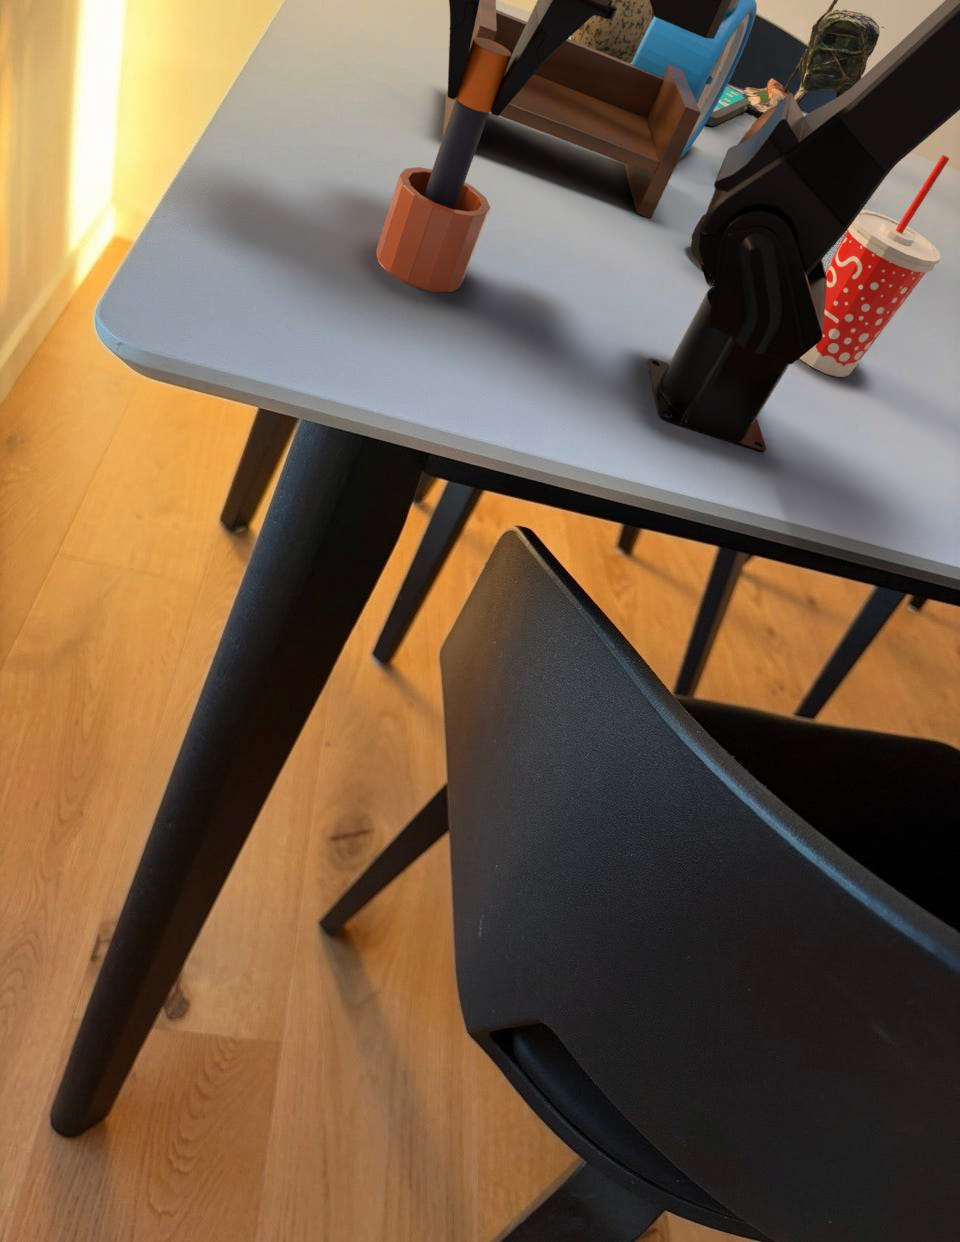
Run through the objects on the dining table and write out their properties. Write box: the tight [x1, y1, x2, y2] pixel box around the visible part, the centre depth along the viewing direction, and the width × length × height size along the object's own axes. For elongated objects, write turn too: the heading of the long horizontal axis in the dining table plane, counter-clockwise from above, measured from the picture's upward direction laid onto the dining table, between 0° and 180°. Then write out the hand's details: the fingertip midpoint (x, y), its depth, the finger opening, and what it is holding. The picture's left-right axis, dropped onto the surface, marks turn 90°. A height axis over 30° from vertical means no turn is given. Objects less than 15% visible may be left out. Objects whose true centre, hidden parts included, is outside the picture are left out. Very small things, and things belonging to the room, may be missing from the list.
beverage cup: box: [799, 154, 950, 378], centre depth 70 cm, size 6×6×14 cm
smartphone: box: [705, 84, 751, 127], centre depth 112 cm, size 9×1×15 cm
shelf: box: [441, 0, 701, 219], centre depth 82 cm, size 10×16×8 cm, turn 90°
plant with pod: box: [742, 0, 885, 113], centre depth 112 cm, size 8×11×20 cm
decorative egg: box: [570, 0, 653, 64], centre depth 103 cm, size 7×7×10 cm
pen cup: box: [375, 166, 491, 293], centre depth 61 cm, size 5×5×5 cm
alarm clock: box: [630, 0, 758, 158], centre depth 91 cm, size 13×6×15 cm, turn 156°
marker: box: [424, 37, 511, 210], centre depth 57 cm, size 2×2×10 cm
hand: (473, 104), depth 56 cm, fingers closed on marker, 2 cm apart
